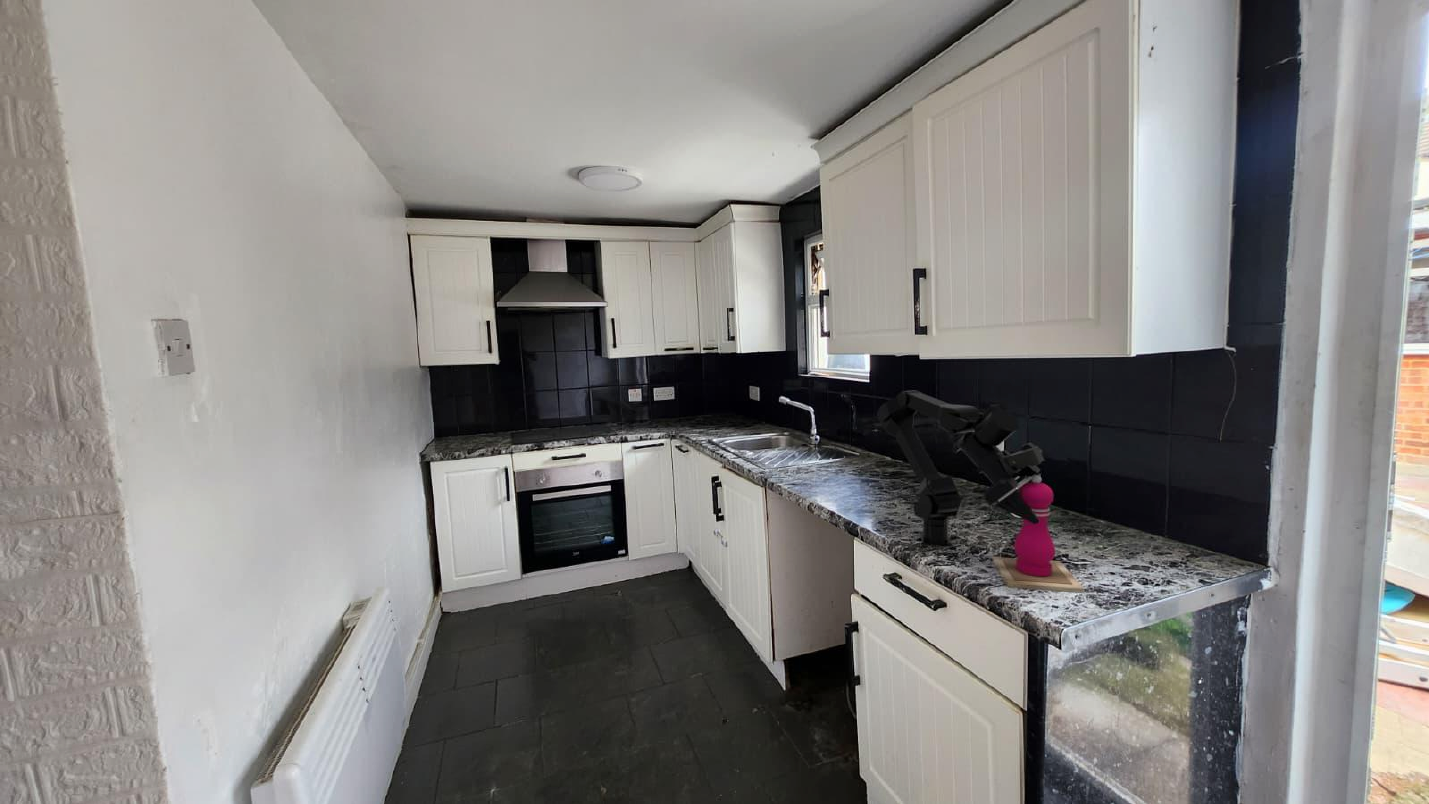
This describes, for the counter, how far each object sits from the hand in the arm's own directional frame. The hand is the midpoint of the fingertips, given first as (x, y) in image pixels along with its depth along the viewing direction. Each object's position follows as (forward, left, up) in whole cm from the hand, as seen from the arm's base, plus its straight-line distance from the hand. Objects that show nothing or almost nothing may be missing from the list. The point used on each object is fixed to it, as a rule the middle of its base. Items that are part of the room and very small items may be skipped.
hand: (1044, 516), depth 106 cm
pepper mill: (-1, -1, -12) cm, 12 cm away
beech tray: (-1, -1, -13) cm, 13 cm away
